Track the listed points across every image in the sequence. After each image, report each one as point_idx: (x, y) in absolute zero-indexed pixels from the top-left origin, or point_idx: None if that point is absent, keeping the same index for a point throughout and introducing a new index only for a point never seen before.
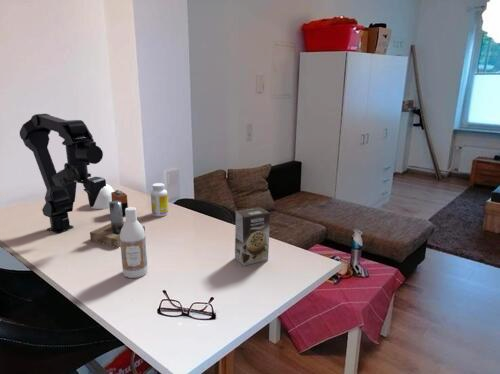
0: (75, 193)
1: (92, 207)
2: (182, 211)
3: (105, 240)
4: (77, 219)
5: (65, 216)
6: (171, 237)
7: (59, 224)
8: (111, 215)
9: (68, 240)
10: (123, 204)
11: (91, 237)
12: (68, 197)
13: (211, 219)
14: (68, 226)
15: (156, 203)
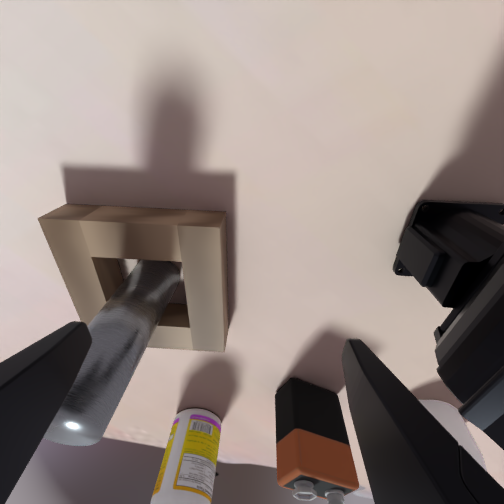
0: (365, 467)
1: (439, 402)
2: (164, 440)
3: (126, 214)
4: (430, 326)
5: (440, 283)
6: (25, 330)
7: (445, 234)
8: (101, 332)
9: (315, 165)
10: (283, 433)
11: (216, 216)
12: (491, 407)
13: None
14: (401, 254)
15: (176, 457)
